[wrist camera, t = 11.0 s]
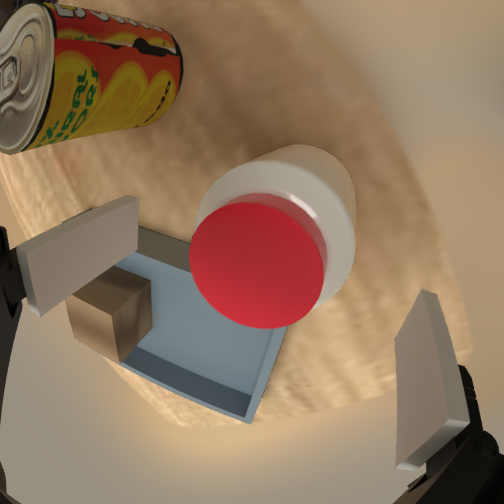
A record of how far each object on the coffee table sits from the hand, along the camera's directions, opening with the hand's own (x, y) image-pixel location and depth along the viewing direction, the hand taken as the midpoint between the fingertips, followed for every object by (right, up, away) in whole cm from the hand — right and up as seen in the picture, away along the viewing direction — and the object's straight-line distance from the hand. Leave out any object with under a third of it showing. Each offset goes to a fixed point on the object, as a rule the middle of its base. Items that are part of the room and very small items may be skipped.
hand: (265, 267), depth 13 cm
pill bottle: (+3, +4, +9) cm, 10 cm away
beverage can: (-10, +15, +8) cm, 20 cm away
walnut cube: (-13, -4, +17) cm, 22 cm away
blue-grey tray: (-8, -5, +17) cm, 19 cm away
